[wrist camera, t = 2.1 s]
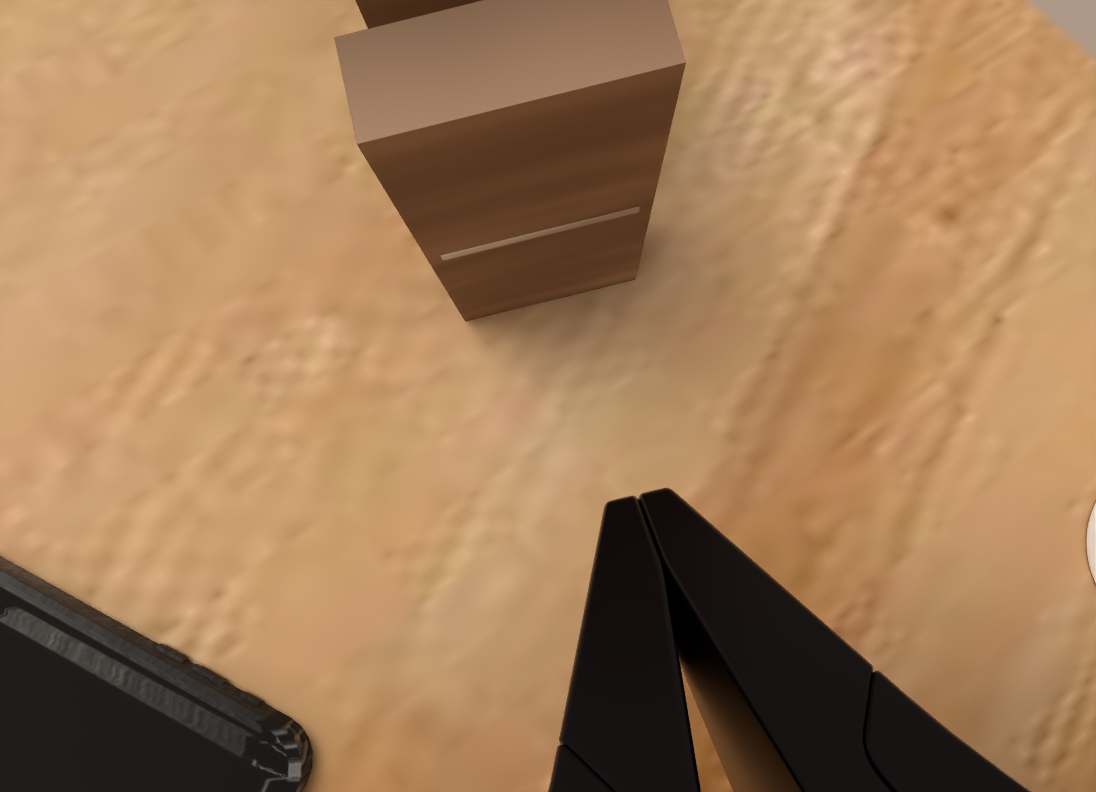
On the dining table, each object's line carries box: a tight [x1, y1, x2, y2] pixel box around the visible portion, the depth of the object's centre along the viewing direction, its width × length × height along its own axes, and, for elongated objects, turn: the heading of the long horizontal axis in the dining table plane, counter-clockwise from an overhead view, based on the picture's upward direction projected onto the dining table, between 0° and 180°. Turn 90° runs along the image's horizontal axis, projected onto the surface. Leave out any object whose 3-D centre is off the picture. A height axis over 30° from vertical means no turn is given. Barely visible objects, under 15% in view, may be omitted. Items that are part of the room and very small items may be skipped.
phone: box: [0, 556, 313, 792], centre depth 19 cm, size 8×1×15 cm
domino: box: [334, 0, 686, 321], centre depth 16 cm, size 2×5×10 cm, turn 104°
